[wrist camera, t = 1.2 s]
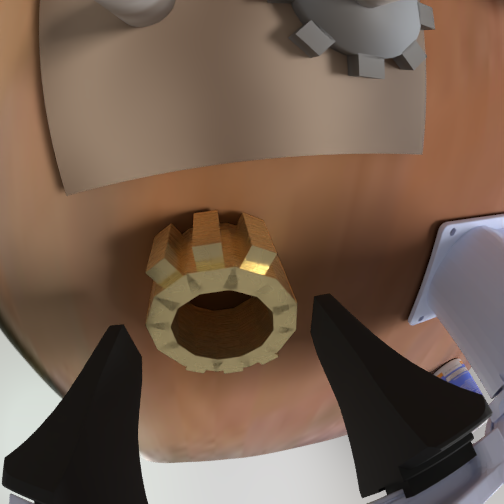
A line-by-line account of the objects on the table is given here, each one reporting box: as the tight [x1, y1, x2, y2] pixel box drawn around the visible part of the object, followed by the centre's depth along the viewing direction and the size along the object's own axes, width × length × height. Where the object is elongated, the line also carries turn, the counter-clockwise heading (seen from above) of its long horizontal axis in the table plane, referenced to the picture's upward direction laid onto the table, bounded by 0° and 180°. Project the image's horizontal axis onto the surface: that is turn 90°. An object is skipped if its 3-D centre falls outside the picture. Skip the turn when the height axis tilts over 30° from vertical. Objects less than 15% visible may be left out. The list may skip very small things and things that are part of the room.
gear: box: [145, 210, 297, 374], centre depth 11 cm, size 6×7×3 cm
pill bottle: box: [433, 358, 488, 433], centre depth 22 cm, size 5×5×10 cm
